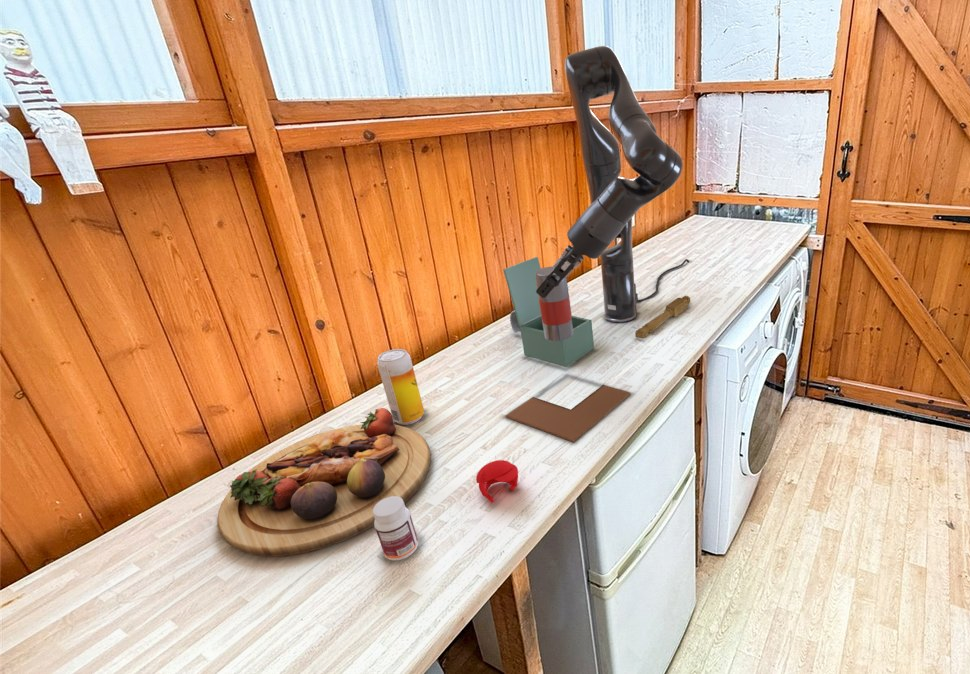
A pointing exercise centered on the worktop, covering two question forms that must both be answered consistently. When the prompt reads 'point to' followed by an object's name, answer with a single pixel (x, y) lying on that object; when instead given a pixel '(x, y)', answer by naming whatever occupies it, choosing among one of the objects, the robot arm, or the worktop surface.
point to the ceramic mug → (516, 322)
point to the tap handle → (664, 316)
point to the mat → (568, 413)
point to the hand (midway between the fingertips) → (544, 288)
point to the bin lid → (524, 289)
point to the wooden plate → (323, 487)
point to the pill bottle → (395, 528)
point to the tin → (555, 308)
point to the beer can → (400, 386)
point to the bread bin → (557, 342)
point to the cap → (496, 476)
